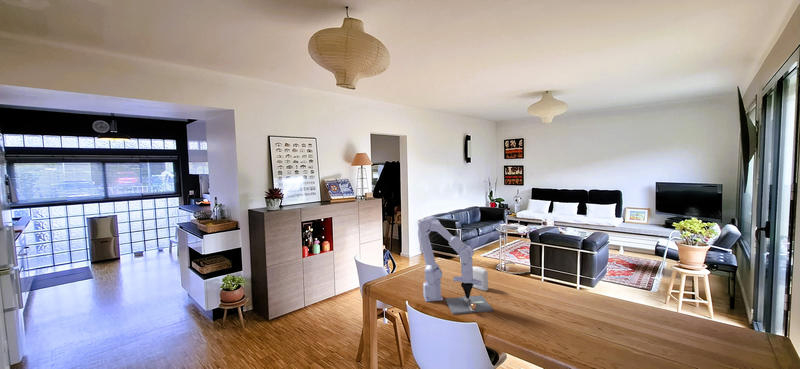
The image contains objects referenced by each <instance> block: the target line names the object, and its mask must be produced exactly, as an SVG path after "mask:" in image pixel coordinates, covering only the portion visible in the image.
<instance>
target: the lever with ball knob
mask: <svg viewBox="0 0 800 369" xmlns="http://www.w3.org/2000/svg"><path fill="white" fill-rule="evenodd" d="M472 296H473V295H470V297H469V298H467V297H466V295H465V294H464V295H463V296H462V297H463V302H465V303H468V304H469V306H470V307H471V309H472V310H476V304H475V303H474V302H473V297H472Z"/></svg>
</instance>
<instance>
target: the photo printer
mask: <svg viewBox="0 0 800 369" xmlns="http://www.w3.org/2000/svg"><path fill="white" fill-rule="evenodd" d="M488 275H489V274H488V270H487V269H485V268H484V267H481V266H473V279H476V280H479V281H482V285H481V286H479V285H475V284H474V285H473V287H472V288H474V289H477V290H481V291H483V292H487V291H488V290H489V276H488Z"/></svg>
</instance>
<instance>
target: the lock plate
mask: <svg viewBox="0 0 800 369" xmlns="http://www.w3.org/2000/svg"><path fill="white" fill-rule="evenodd" d="M471 296H472V297H473V302H474V303H475V304H476V310H472V309H471V307H470V306H469V304H468V303H465V302H463V296H460V297H459V296H457V297H450V298H449V297H448V298H444V301H445V302H446V305H447V306H448V308H449V310H450V312H451V313H452V315H462V314H463V315H464V314H472V313H473V314H474V313H475V312H476V313H483V312H484V313H485V312H494V308H493V307H492V306H491V304H489V302H488V301H487V300H486V299H485V298H484V296H483V295H471Z"/></svg>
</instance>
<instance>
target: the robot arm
mask: <svg viewBox="0 0 800 369" xmlns="http://www.w3.org/2000/svg"><path fill="white" fill-rule="evenodd" d="M417 225H418V228H417V229H418V230H417V236H418V240H419V244H420V248H421V251H422V255H423V260H424V263H425V267H424V281H425V282H423V283H422V285H423V286H422V288H423V291H422V292H423V293H422V294H423V298H424V300H425V302H437V301H444V298H443V296H442V287H441V285H442V283H441V278H442V277H443V271H442V269H441V268H440V265H439V264H438V263H437V262H436V259H435V255H434V251H433V247H432V243H431V240H430V236H429V235H430V233H431V232H436V233H438V234H439V235H441V236H442V237H443V238H444V239H445V240H446V241H448V245H449V246H450V247H451V248H452V249H453V250H454V251H455V252H456V253H457V254H458V257H459V259H460V271H461V272H460V273H461V276H453V282H459V283H461V284H460V286H461V287H462V289H463V292H464V296H465V295H466V297H467V298H469V297H470V296H471V291H472V289H473V288H474V287H473V285H474V284H475V285H479V286H481V285H482V281H479V280H476V279H473V267H474V265H473V263H474V262H473V256H474V255H475V254H474V253H475V252H474V248H473V247H472V246H471V245H467V244H466V243H465V242H463V241H462V240H461V238H460V237H459V236H457V235H455V236H454V235H452V233H451V232H449V231H448V229H447V228H446V227H444V226H443V225H442V224H441V222H440V220H439V219H437V218H436V217H435V216H434V215H433V216H432V215H431V216H428V217H425V218H422V219H421V220H420V221H419V222H418V224H417Z"/></svg>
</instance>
